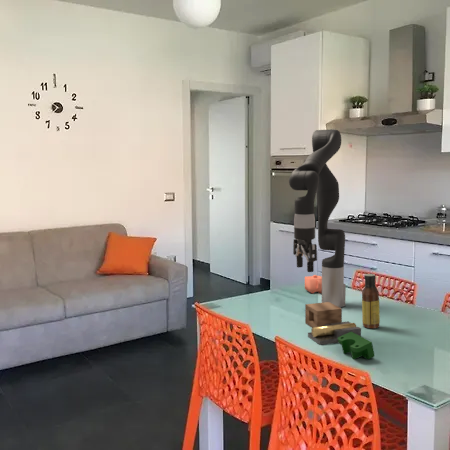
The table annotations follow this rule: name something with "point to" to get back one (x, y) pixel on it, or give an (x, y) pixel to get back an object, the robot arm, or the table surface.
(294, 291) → the table surface
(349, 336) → the clamp
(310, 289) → the pink cube teapot
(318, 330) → the cannon barrel
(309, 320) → the wooden mallet head
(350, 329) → the rest
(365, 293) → the sauce bottle
